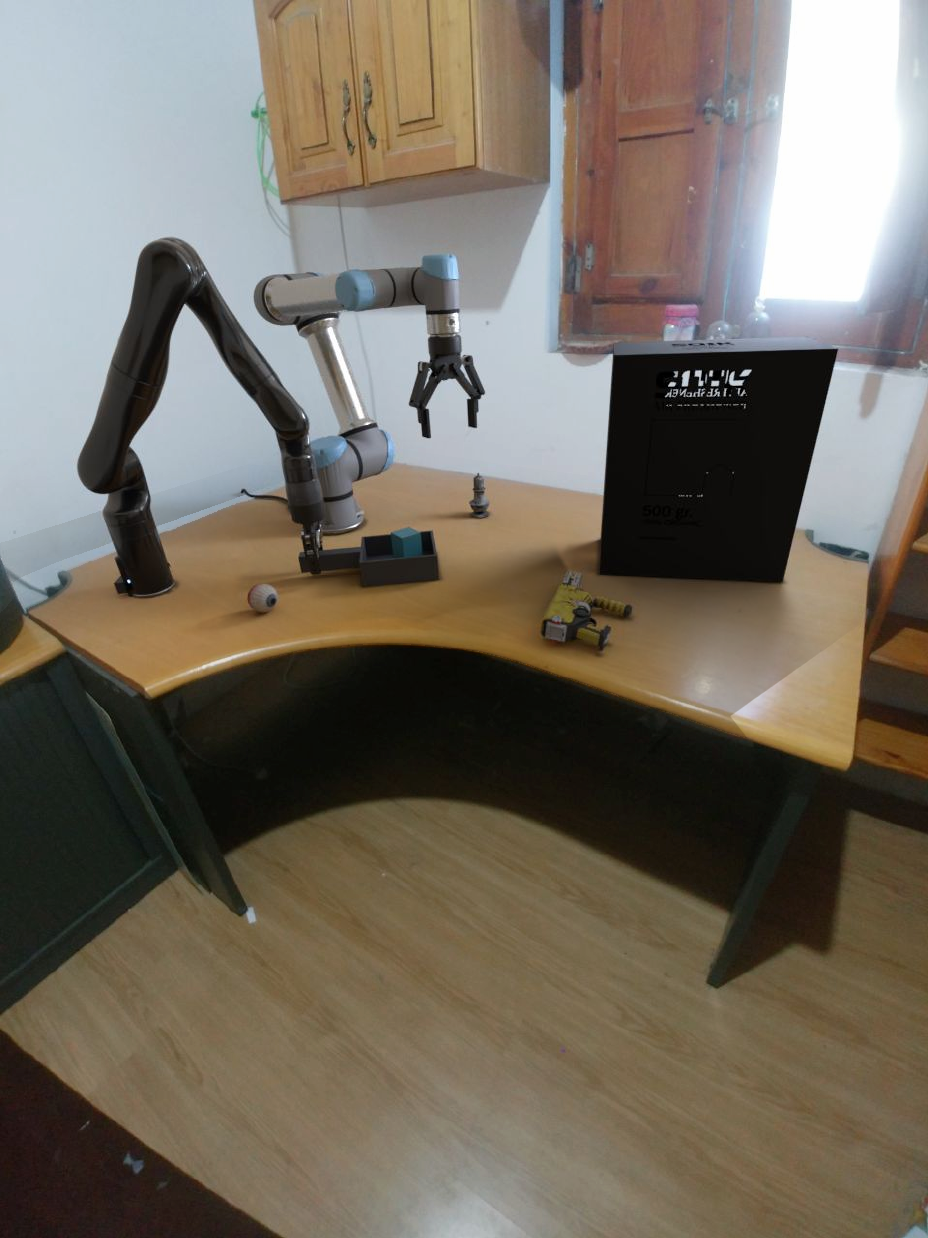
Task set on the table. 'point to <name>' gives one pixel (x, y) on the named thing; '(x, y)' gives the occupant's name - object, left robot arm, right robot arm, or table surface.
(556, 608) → the toy gun
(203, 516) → the table surface
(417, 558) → the tray
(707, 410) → the cardboard box
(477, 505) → the stone chess piece
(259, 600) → the eyeball
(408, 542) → the block
